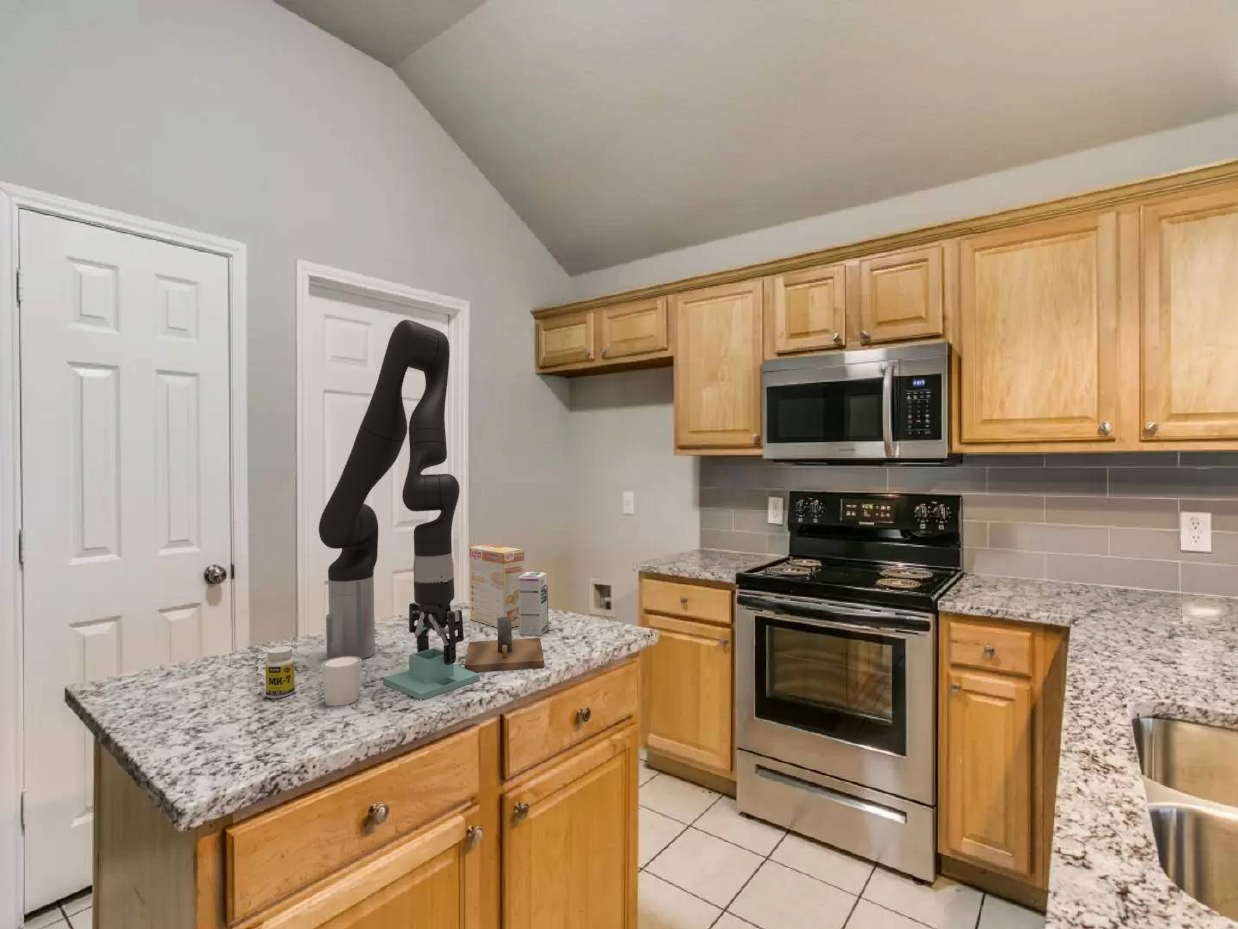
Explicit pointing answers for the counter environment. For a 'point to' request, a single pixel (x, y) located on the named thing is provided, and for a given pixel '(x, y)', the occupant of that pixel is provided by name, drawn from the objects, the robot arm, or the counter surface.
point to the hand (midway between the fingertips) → (436, 659)
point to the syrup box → (533, 603)
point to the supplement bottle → (280, 672)
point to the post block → (504, 651)
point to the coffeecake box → (495, 583)
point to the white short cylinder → (341, 679)
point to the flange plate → (430, 675)
